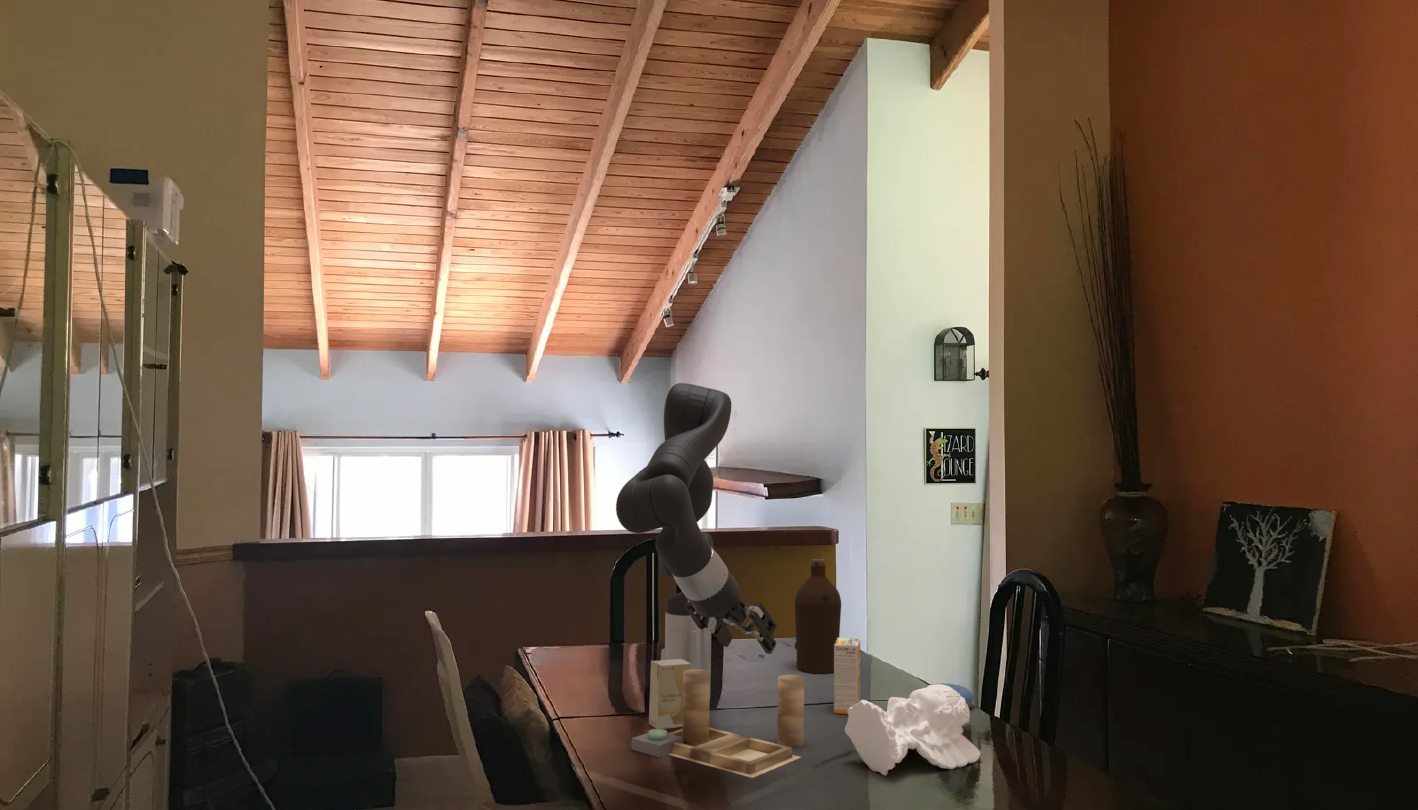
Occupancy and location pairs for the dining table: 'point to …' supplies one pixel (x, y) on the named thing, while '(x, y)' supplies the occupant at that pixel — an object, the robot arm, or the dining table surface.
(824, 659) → the olive oil
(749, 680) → the dining table surface
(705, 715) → the cylinder
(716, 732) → the wooden tray
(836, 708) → the supplement box
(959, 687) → the doughnut
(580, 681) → the dining table surface
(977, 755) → the cherub figurine
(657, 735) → the block
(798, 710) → the loose billet
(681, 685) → the skincare box
